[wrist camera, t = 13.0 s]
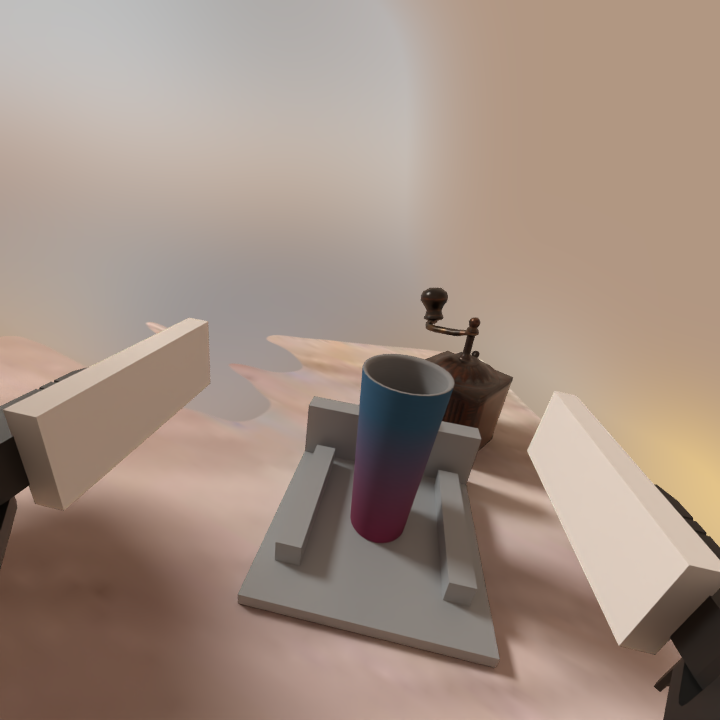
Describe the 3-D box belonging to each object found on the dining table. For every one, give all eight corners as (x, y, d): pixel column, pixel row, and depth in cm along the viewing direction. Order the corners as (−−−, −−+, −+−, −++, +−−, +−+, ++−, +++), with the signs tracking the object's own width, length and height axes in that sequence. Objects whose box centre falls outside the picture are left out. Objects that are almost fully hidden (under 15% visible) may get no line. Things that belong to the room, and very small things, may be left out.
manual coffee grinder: (497, 434, 49) (541, 313, 42) (461, 467, 41) (506, 325, 34) (409, 389, 58) (433, 283, 51) (366, 409, 50) (386, 287, 43)
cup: (427, 518, 32) (469, 376, 26) (387, 569, 27) (427, 407, 21) (369, 480, 36) (394, 347, 30) (324, 518, 30) (343, 367, 25)
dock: (237, 603, 24) (236, 515, 21) (309, 447, 41) (315, 383, 37) (495, 667, 23) (539, 584, 19) (461, 478, 39) (482, 415, 36)
